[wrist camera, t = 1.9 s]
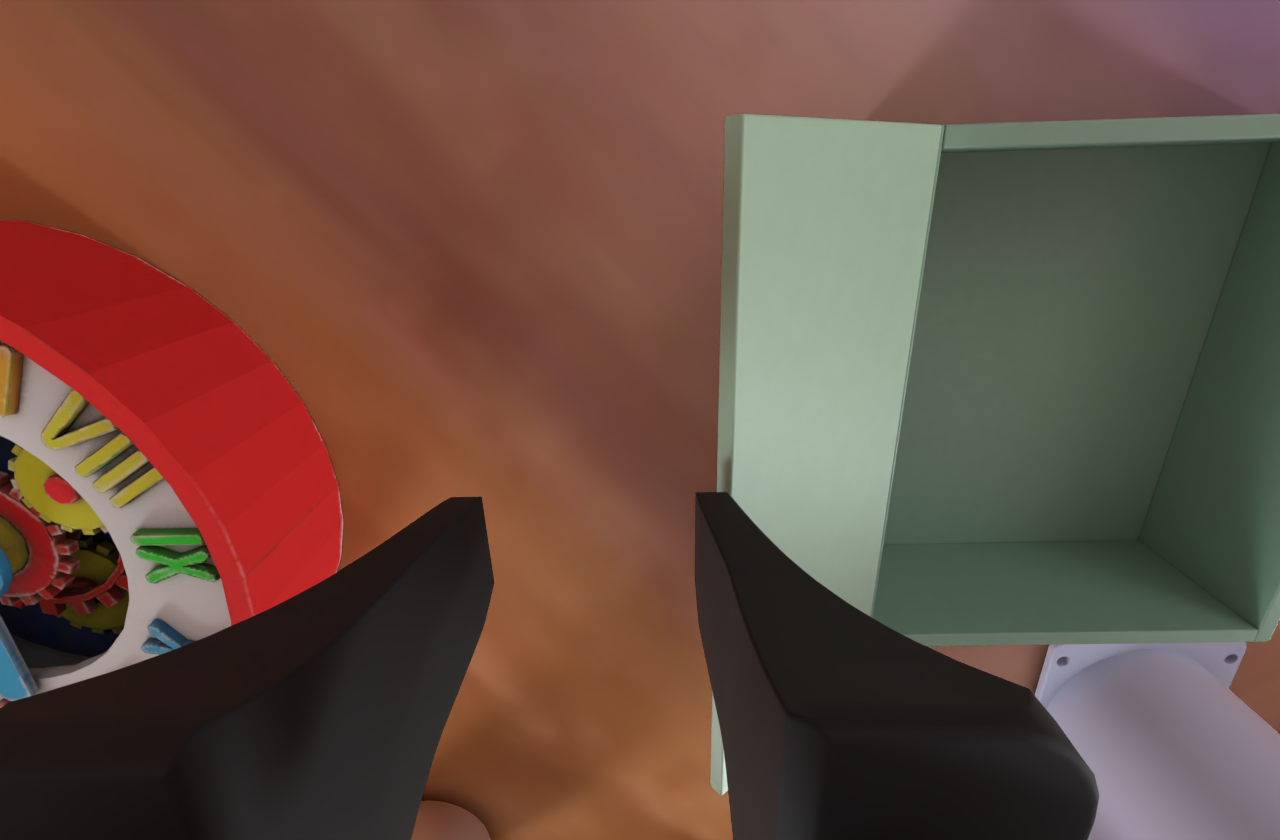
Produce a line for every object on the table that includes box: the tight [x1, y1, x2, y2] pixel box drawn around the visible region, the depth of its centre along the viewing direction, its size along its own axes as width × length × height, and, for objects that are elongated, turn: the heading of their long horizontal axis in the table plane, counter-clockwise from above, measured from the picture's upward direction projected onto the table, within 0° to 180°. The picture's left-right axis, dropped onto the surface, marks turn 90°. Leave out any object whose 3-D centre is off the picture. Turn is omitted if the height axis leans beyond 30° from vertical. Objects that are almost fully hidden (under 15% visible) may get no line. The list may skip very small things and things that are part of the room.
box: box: [870, 113, 1280, 646], centre depth 19 cm, size 15×13×6 cm
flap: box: [710, 113, 942, 796], centre depth 14 cm, size 15×6×1 cm
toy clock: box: [0, 219, 343, 708], centre depth 21 cm, size 20×6×20 cm
